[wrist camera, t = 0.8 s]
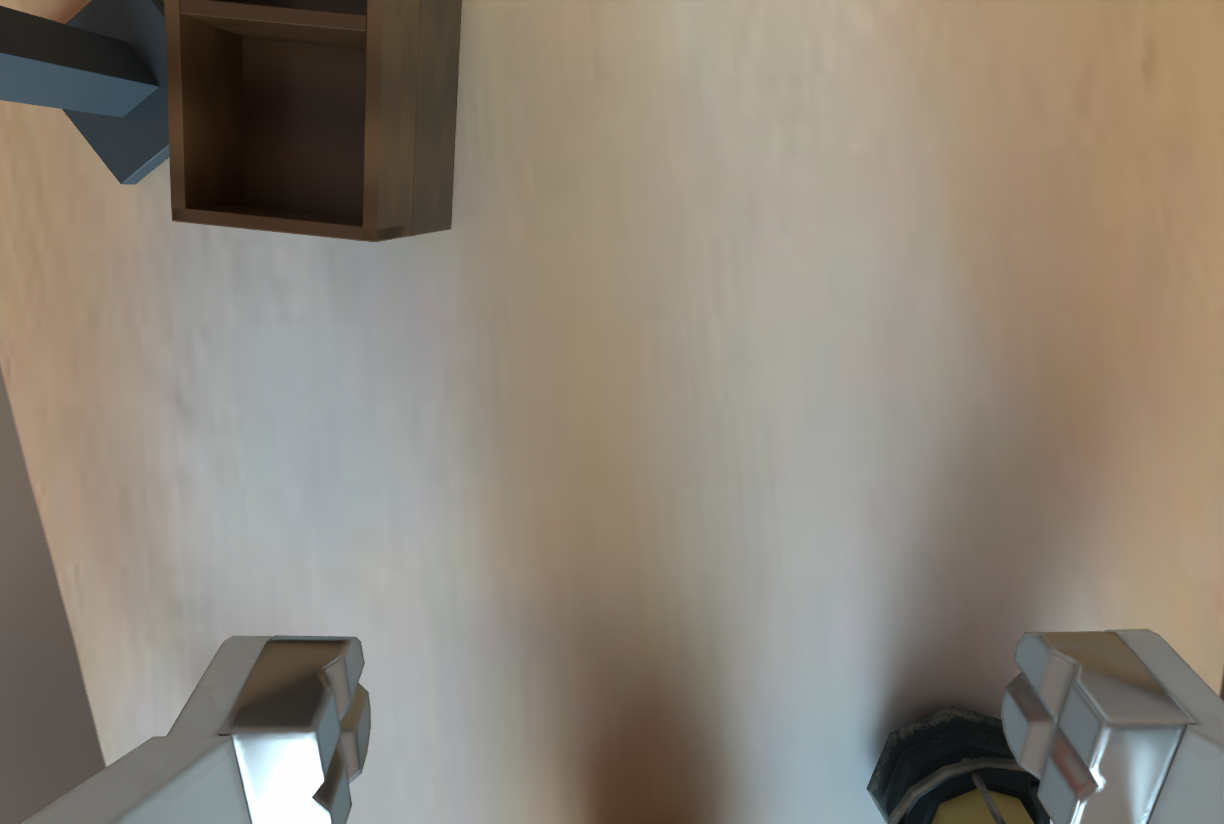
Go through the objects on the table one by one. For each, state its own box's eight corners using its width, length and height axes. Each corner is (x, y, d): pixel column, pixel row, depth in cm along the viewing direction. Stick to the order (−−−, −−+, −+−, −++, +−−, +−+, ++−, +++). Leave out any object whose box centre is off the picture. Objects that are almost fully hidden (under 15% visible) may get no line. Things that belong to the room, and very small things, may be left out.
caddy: (300, -26, 51) (159, -112, 37) (462, -11, 51) (384, -92, 37) (300, 213, 55) (171, 221, 40) (451, 229, 55) (376, 242, 40)
